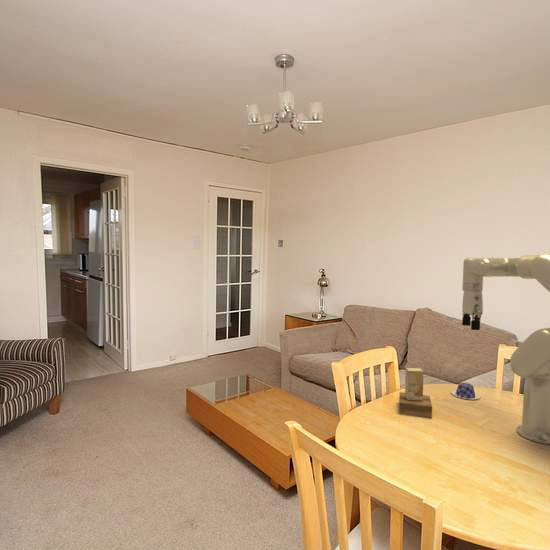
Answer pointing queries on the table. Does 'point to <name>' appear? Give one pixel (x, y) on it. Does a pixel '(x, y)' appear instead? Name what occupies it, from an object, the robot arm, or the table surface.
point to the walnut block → (415, 406)
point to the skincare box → (414, 384)
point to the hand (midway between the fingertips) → (470, 327)
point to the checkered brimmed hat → (465, 391)
